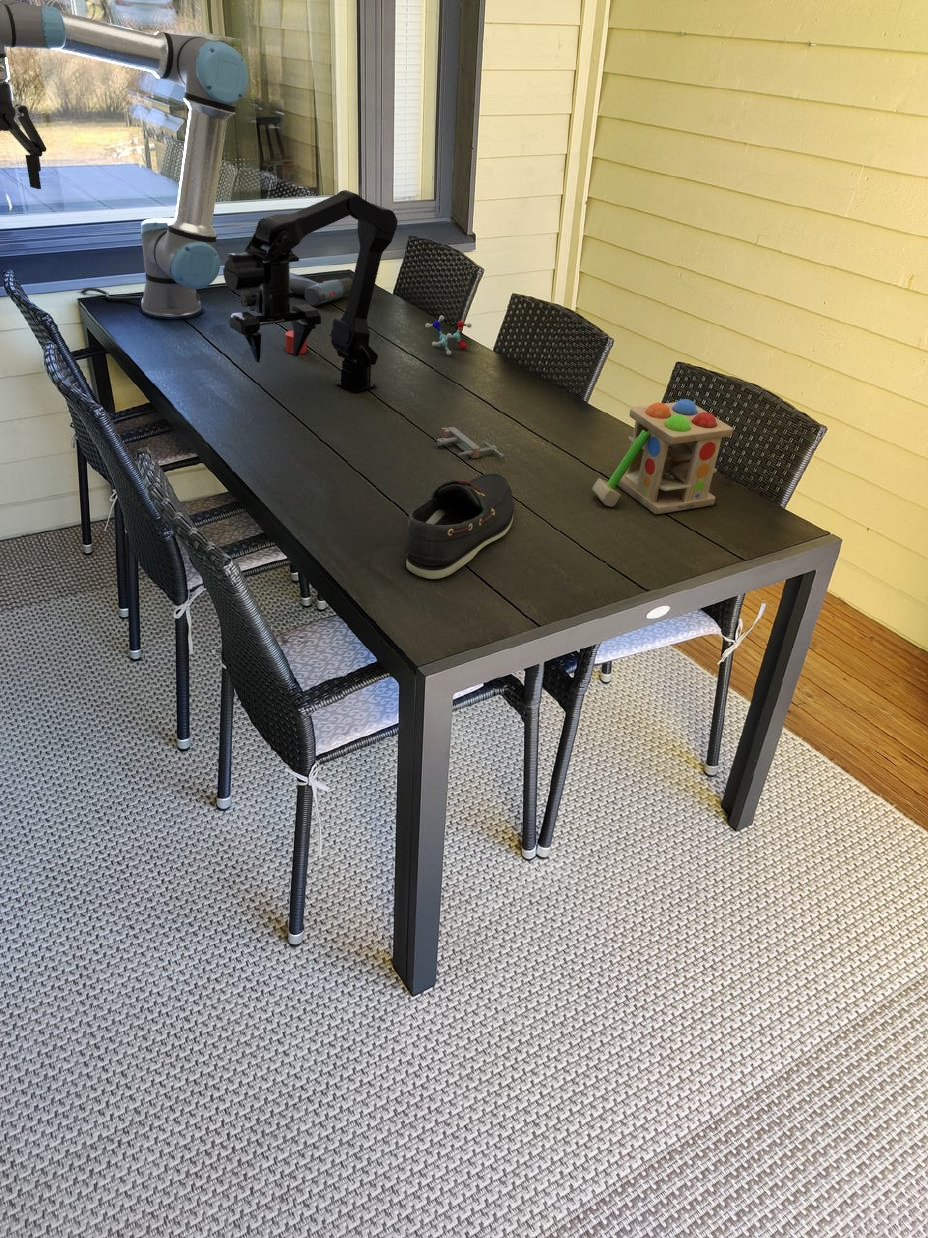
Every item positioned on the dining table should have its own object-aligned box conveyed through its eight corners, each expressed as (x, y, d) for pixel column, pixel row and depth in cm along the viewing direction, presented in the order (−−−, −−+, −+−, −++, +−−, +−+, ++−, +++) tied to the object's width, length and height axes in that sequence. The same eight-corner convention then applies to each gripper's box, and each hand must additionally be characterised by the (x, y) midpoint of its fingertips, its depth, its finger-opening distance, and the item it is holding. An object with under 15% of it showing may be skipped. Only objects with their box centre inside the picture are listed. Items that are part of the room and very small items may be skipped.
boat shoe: (539, 516, 182) (544, 464, 176) (440, 585, 158) (443, 528, 152) (480, 497, 187) (483, 446, 182) (376, 561, 163) (376, 505, 158)
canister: (309, 349, 244) (309, 332, 242) (301, 355, 240) (300, 338, 238) (291, 345, 245) (291, 328, 243) (282, 351, 241) (281, 334, 239)
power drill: (307, 279, 292) (360, 295, 284) (264, 292, 279) (319, 308, 271) (307, 261, 289) (361, 276, 281) (263, 272, 276) (319, 289, 268)
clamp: (428, 429, 204) (470, 423, 208) (427, 439, 205) (469, 432, 209) (464, 459, 193) (507, 451, 198) (463, 469, 194) (506, 461, 199)
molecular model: (465, 347, 244) (452, 307, 242) (431, 360, 247) (418, 321, 246) (479, 347, 254) (467, 309, 253) (447, 360, 258) (434, 323, 256)
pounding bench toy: (617, 521, 181) (635, 431, 171) (577, 488, 192) (591, 401, 182) (715, 504, 191) (737, 418, 181) (672, 473, 201) (691, 389, 191)
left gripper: (-54, 85, 189) (-32, 202, 201) (54, 80, 207) (68, 187, 219) (-78, 80, 192) (-55, 195, 204) (30, 75, 210) (45, 181, 222)
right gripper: (295, 269, 210) (295, 341, 219) (215, 278, 200) (219, 352, 209) (322, 284, 204) (322, 357, 212) (241, 293, 193) (244, 370, 202)
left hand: (9, 191), depth 211 cm, fingers open, 13 cm apart
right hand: (276, 358), depth 209 cm, fingers open, 9 cm apart
